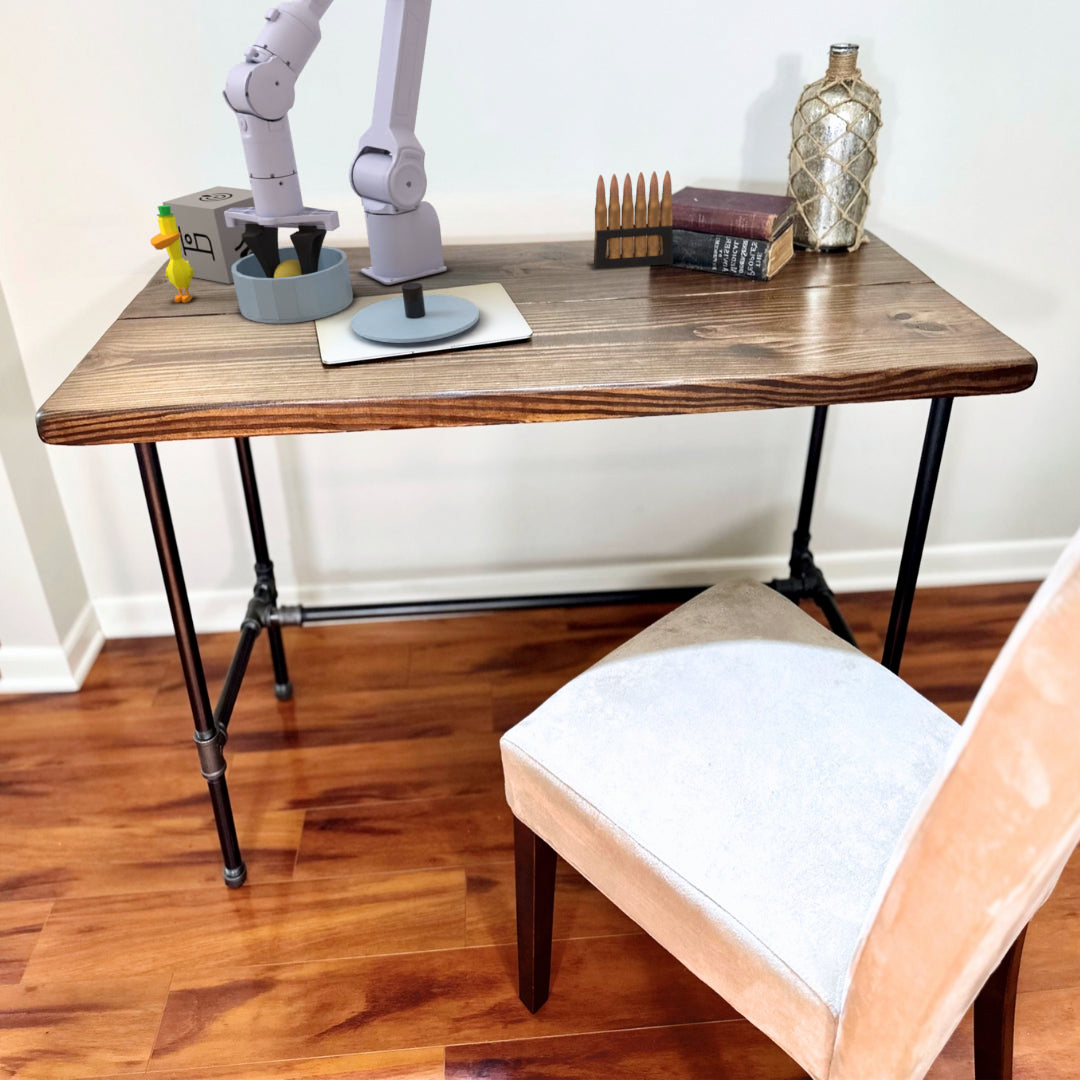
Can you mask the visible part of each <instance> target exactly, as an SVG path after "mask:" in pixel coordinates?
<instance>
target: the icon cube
mask: <svg viewBox="0 0 1080 1080" xmlns="http://www.w3.org/2000/svg"><path fill="white" fill-rule="evenodd" d="M164 205H170V206H171V213H174V215H173V216H174V217H175V221H176V225H177V229H178V233H181V235H180V237H179V239H180V247H181V255H182V258H183V259H184V260H185V261H187V260H188V263H189V264H190V268H193V270H194V276H193V278H195V279H202V280H207V281H211V282H218V283H223V284H229V285H230V284H234V280H233V275H232V265H233V264H234V263H235V262H236V261H238V260H239V259H241V258H244V257H246V256H248V255H250V254H254V253H253V252H252V251H251V249H250V248H249V247H248V246H247V245H246V243H245V242H244V241H243V240H242V236H241V234H242V233H244V232H245V229H246V228H245V226H237V227H234V228H231V227H227V224H226V220H225V215H224V212H225V211H227V210H229V209H231V208H248V207H255V204H254V199H253V194H252V189H245V188H237V187H228V186H220V185H217V186H214V187H213V186H212V187H211V188H210V187H209V188H207V189H202V190H200V191H197V192H193V193H190V194H185V195H183V196H180V197H176V198H172V199H169V200H166V201H163V202H162V206H164ZM278 248H280V247H279V246H278Z"/></svg>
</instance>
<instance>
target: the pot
mask: <svg viewBox="0 0 1080 1080" xmlns="http://www.w3.org/2000/svg"><path fill="white" fill-rule="evenodd" d="M278 249H279V258H280V263H281V262H283V261H285V260H290V259H292V260H298V261H299V259H298V256H297V253H296V250H295V248H294V245H290V246H289V245H287V246H281V247H279V248H278ZM232 275H233V280H234V282H233V284H234V289H235V293H236V298H237V302H238V307H239V311H240V313H241V315H242V316H243V317H244V318H246V319H247V320H249V321H253V322H257V323H264V324H297V323H302V322H303V323H304V322H310V321H314V320H319V319H323V318H326V317H329V316H332V315H336V314H337V313H340V312H342V311H343V310H345V309H347V308H348V307H349V306H350V305H351V304H352V303H353V300H354V293H353V286H352V281H351V273H350V266H349V260H348V256H347V254H346V251H343V250H342V249H339V248H337V247H332V246H327V245H322V247H321V251H320V256H319V262H318V272H315V273H312V274H306V275H300V276H295V277H284V278H267V277H266V274H265V272H264V270H263V268H262V266H261V265H260V263H259V261H258V259H257V258H256V256H255V255H254V254H250V255H248V256H246V257H244V258H241V259H239V260H238V261H236V262H235V263H234V264H233V265H232Z"/></svg>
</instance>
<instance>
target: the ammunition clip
mask: <svg viewBox="0 0 1080 1080" xmlns="http://www.w3.org/2000/svg"><path fill="white" fill-rule="evenodd" d="M610 179H611V180H610V185H609V199H608V200H609V201H608V206H607V201H606V186H605V180H604V177H603V175H602V174H599V176H598V178H597V183H596V191H595V194H596V195H595V206H594V244H593V245H594V246H593V266H594V269H596V270H599V269H600V270H601V269H613V268H615V269H616V268H631V267H643V266H645V267H646V266H658V265H660V266H661V265H672V264H673V263H674V231H673V230H674V229H673V215H674V214H673V211H674V208H673V207H674V205H673V203H674V202H673V194H672V191H673V190H672V188H673V187H672V186H673V185H672V177H671V174H670V171H669V170H668V169H667V170H666V171H665V174H664V177H663V181H662V193H661V201H660V196H659V195H660V193H659V180H658V179H659V178H658V176H657V172H656V171H653V172H652V173H651V177H650V182H649V192H648V193H649V194H648V202H647V199H646V198H647V197H646V182H645V181H646V180H645V176H644V174H643V172H642V171H640V172H639V174H638V177H637V182H636V189H635V191H636V192H635V193H636V194H635V203H634V202H633V201H634V199H633V197H634V196H633V184H632V183H633V182H632V179H631V175H630V173H629V172H627V173H626V174H625V176H624V182H623V189H622V204H620V190H619V189H620V188H619V182H618V178H617V175H616V174H615V173H613V174H612V176H611V178H610Z"/></svg>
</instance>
